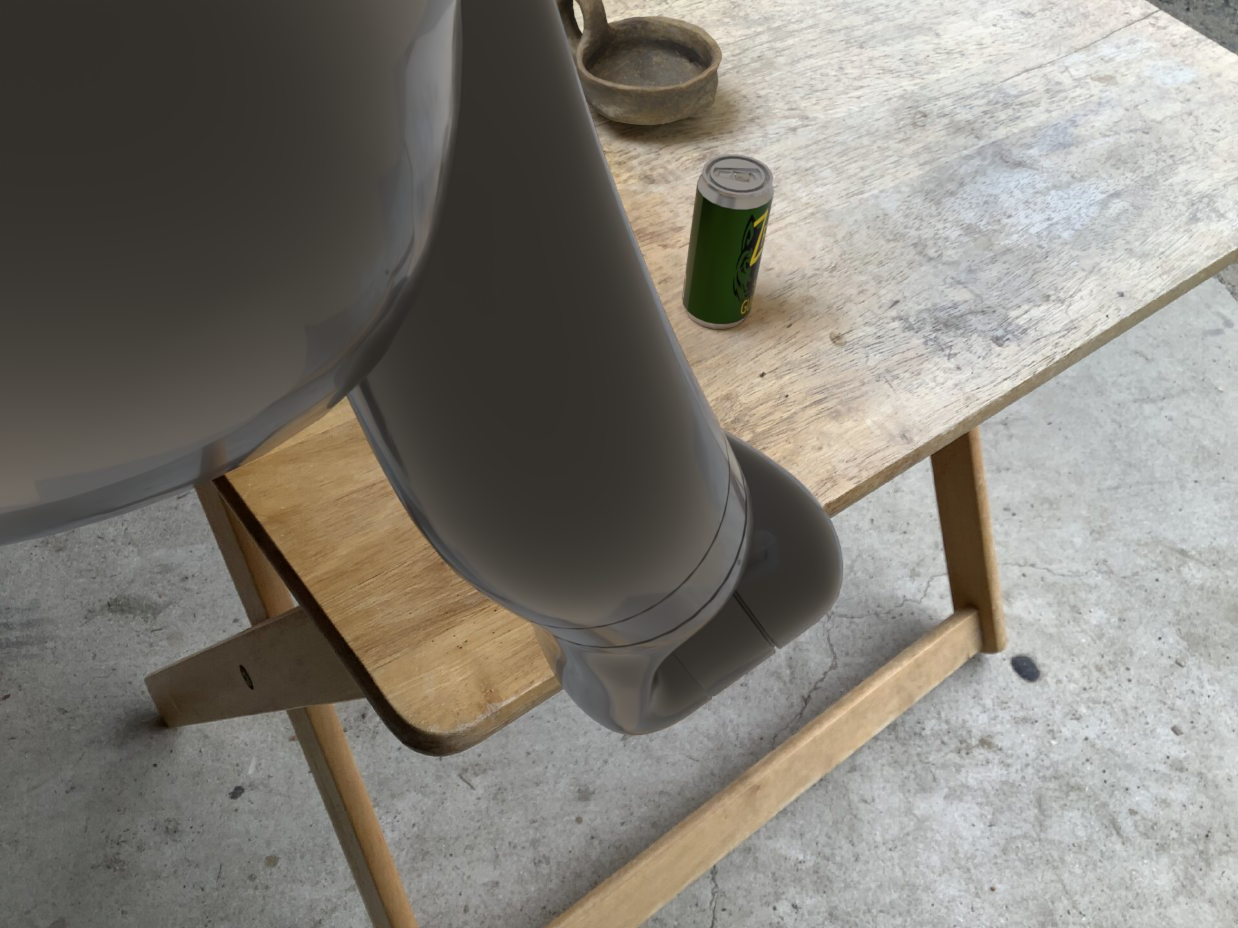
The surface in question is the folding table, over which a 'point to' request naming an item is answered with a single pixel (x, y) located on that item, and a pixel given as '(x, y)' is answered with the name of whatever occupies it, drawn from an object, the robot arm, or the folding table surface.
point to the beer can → (727, 240)
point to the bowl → (641, 64)
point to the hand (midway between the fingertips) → (350, 105)
